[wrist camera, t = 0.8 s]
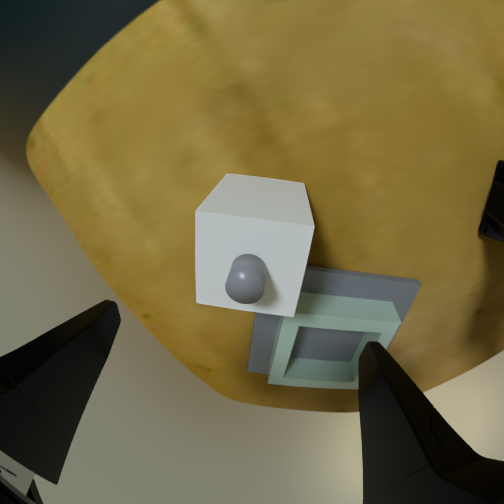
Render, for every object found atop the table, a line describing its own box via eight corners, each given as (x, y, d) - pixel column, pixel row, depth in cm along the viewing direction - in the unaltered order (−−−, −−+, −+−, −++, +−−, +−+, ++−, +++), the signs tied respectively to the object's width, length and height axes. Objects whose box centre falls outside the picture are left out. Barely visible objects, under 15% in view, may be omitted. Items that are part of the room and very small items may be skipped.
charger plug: (303, 183, 17) (318, 243, 10) (292, 250, 20) (293, 338, 12) (227, 173, 18) (183, 225, 10) (222, 241, 20) (188, 322, 13)
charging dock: (418, 279, 20) (432, 303, 17) (366, 376, 26) (370, 399, 23) (262, 259, 20) (258, 284, 18) (247, 367, 27) (243, 391, 24)
